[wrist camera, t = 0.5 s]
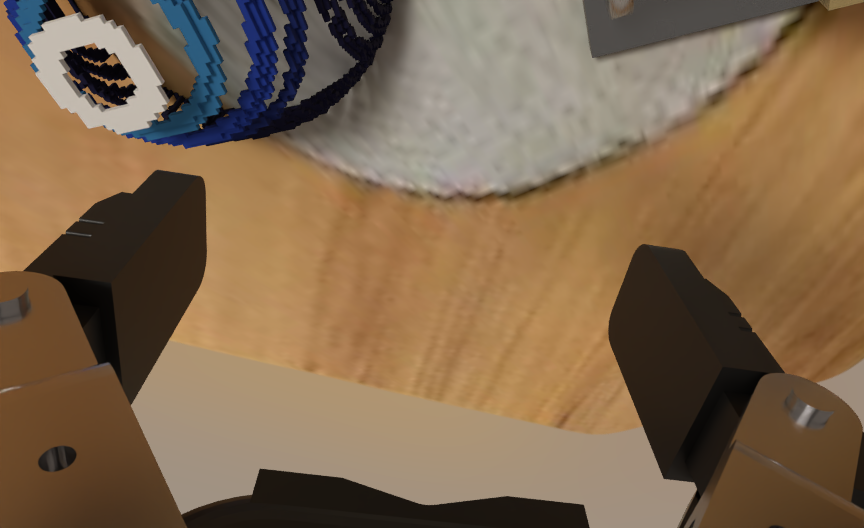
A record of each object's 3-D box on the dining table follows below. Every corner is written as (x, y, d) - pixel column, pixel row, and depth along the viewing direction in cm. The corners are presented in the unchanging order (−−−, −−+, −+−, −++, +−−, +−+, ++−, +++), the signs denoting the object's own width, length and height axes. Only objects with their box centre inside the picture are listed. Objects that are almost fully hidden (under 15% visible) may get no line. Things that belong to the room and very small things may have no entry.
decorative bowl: (311, -358, 26) (189, -374, 16) (436, 77, 39) (415, 226, 29) (-63, -206, 31) (-348, -139, 20) (160, 138, 44) (56, 285, 33)
